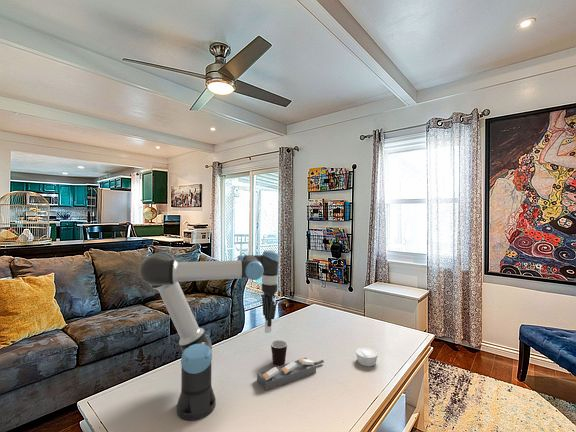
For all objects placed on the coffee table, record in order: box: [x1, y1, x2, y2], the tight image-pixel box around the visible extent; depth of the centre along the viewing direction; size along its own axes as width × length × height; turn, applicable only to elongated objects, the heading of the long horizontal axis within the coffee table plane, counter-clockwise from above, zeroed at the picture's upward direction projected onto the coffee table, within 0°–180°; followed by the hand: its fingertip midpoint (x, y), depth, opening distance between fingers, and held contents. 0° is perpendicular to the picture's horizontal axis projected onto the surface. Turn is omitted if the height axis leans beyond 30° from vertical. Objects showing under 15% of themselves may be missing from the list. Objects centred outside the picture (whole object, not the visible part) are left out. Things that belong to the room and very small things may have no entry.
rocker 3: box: [298, 358, 315, 365], centre depth 142 cm, size 7×3×1 cm, turn 122°
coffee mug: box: [270, 339, 288, 367], centre depth 152 cm, size 12×9×10 cm
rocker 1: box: [263, 366, 279, 380], centre depth 131 cm, size 7×3×1 cm, turn 121°
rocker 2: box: [281, 360, 297, 374], centre depth 136 cm, size 7×3×1 cm, turn 121°
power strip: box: [256, 357, 325, 392], centre depth 140 cm, size 36×9×4 cm, turn 121°
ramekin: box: [355, 347, 379, 367], centre depth 152 cm, size 11×11×5 cm
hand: (267, 332), depth 137 cm, fingers closed
